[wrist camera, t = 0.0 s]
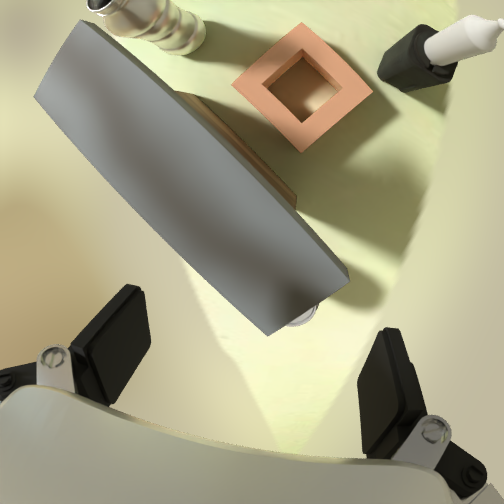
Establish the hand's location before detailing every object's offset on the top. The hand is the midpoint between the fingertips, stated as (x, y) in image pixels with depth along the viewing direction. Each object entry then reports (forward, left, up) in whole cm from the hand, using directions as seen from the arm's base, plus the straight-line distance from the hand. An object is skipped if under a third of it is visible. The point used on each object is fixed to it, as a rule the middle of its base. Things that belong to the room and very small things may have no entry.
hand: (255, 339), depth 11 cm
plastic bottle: (-4, -25, -31) cm, 40 cm away
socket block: (-9, -8, -31) cm, 34 cm away
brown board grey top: (0, -8, -31) cm, 32 cm away
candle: (-21, -2, -31) cm, 38 cm away
